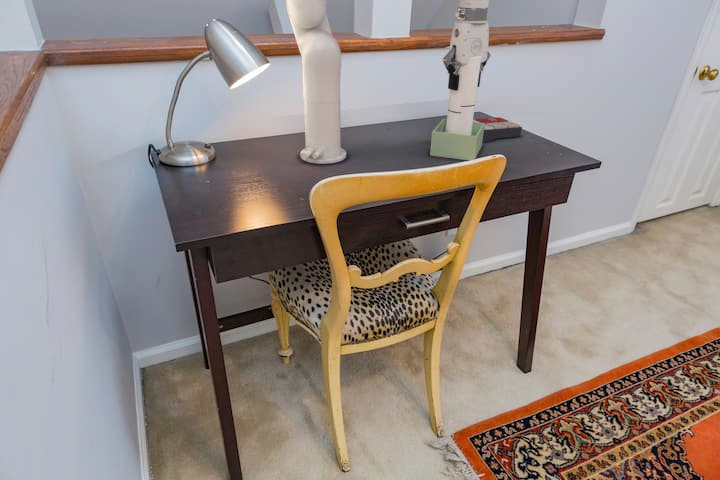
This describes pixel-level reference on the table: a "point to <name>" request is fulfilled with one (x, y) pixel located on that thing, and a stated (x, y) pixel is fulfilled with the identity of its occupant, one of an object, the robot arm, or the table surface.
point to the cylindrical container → (463, 99)
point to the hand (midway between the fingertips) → (463, 87)
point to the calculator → (499, 128)
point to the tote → (456, 142)
